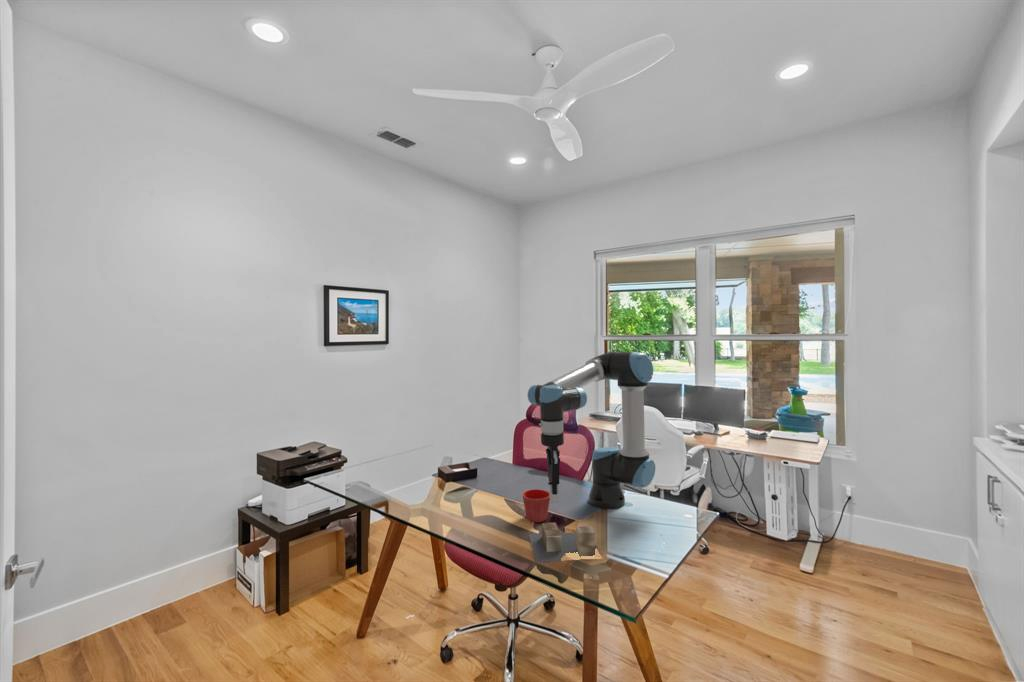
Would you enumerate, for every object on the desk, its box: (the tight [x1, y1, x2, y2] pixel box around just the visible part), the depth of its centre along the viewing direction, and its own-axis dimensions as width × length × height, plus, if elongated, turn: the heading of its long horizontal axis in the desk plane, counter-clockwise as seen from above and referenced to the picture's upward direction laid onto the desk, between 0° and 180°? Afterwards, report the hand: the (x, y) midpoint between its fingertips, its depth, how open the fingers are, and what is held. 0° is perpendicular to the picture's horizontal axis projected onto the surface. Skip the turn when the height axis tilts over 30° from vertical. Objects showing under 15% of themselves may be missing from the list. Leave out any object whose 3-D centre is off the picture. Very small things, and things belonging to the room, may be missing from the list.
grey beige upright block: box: [575, 525, 596, 557], centre depth 150 cm, size 5×5×8 cm
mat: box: [528, 531, 599, 564], centre depth 156 cm, size 22×20×1 cm
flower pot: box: [522, 489, 550, 523], centre depth 180 cm, size 11×11×10 cm
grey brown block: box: [541, 522, 562, 552], centre depth 157 cm, size 5×5×11 cm
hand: (554, 502), depth 152 cm, fingers closed
